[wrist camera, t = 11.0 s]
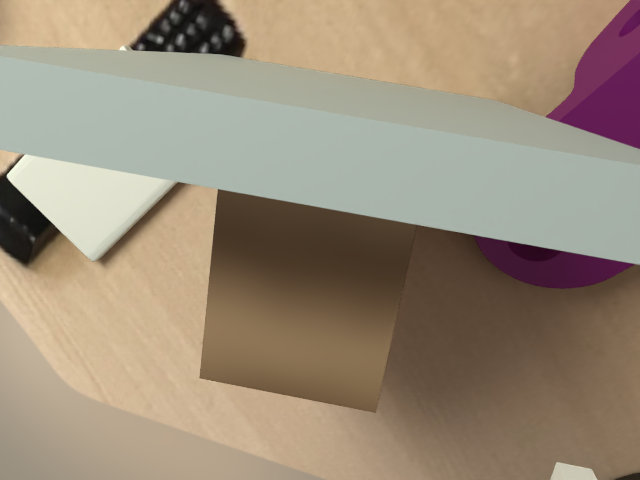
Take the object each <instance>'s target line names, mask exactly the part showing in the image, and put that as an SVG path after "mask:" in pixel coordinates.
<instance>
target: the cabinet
mask: <svg viewBox="0 0 640 480" xmlns="http://www.w3.org/2000/svg"><path fill="white" fill-rule="evenodd" d="M416 227H417V225H416V224H410V223H404V222H399V221H393V220H388V219H382V218H377V217H371V216H365V215H360V214H354V213H349V212H343V211H338V210H332V209H326V208H321V207H315V206H310V205H304V204H299V203H293V202H288V201H282V200H276V199H271V198H265V197H260V196H254V195H249V194H243V193H237V192H232V191H226V190H221V189H218V194H217V204H216V214H215V225H214V235H213V245H212V255H211V266H210V276H209V286H208V297H207V307H206V317H205V327H204V338H203V348H202V358H201V369H200V378H201V379H206V380H211V381H216V382H221V383H227V384H232V385H237V386H242V387H247V388H252V389H257V390H262V391H267V392H273V393H278V394H283V395H288V396H293V397H298V398H303V399H308V400H313V401H318V402H324V403H329V404H334V405H339V406H344V407H349V408H354V409H359V410H364V411H370V412H375V413H376V409H377V404H378V400H379V395H380V391H381V386H382V382H383V377H384V372H385V368H386V363H387V359H388V354H389V350H390V345H391V341H392V336H393V332H394V327H395V323H396V318H397V313H398V309H399V304H400V300H401V295H402V291H403V286H404V282H405V277H406V273H407V268H408V263H409V259H410V254H411V250H412V245H413V241H414V236H415V232H416Z"/></svg>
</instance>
